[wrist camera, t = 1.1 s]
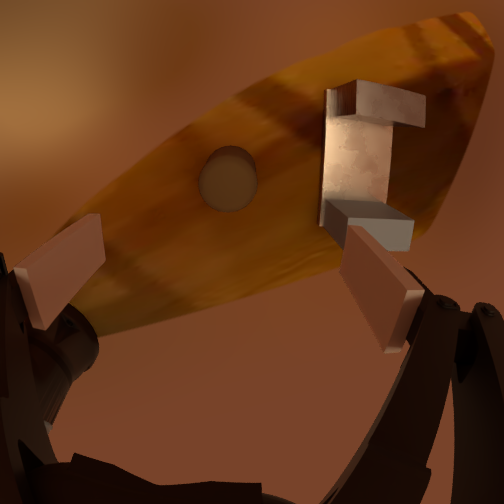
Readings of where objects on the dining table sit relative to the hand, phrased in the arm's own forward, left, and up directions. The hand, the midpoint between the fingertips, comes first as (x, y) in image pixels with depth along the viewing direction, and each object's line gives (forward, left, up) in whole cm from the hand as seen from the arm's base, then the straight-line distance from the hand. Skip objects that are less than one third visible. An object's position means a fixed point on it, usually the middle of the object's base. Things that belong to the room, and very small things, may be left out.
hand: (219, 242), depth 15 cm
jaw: (+16, -4, -20) cm, 26 cm away
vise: (+16, +3, -21) cm, 27 cm away
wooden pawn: (0, +1, -22) cm, 22 cm away
